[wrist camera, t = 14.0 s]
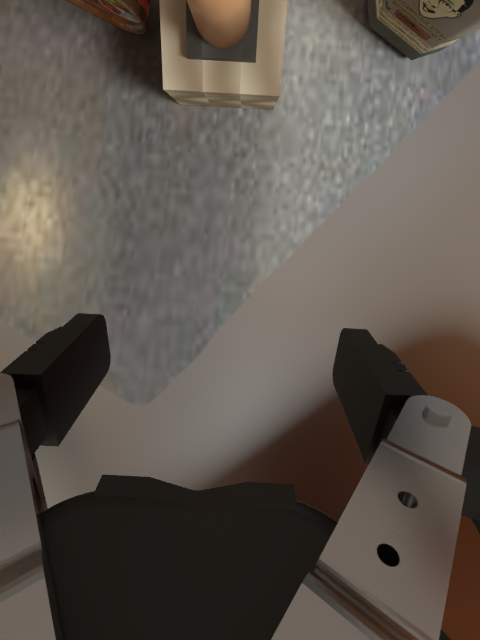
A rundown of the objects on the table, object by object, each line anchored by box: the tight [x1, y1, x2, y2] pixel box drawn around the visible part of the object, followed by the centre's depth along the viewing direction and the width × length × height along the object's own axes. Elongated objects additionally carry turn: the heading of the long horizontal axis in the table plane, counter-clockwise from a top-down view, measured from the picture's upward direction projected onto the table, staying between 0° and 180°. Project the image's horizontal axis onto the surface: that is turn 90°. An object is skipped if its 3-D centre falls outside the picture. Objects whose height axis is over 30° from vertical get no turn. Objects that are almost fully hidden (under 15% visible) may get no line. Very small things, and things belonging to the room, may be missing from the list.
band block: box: [159, 0, 288, 110], centre depth 29 cm, size 10×10×9 cm
